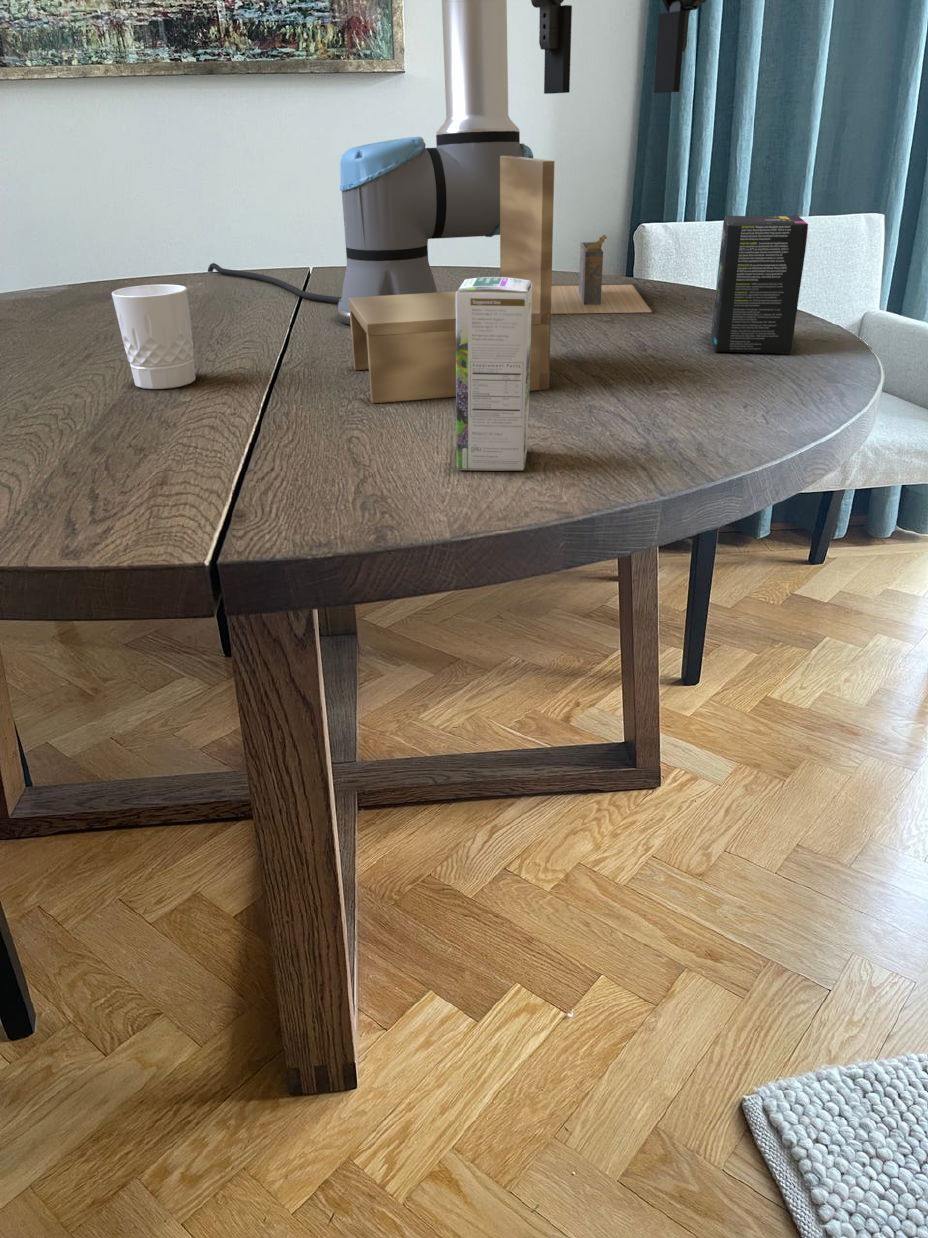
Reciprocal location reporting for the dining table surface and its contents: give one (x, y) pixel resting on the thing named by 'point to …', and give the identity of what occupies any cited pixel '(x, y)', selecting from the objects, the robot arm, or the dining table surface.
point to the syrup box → (493, 372)
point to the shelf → (426, 323)
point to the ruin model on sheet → (595, 289)
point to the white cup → (156, 334)
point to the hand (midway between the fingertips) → (613, 93)
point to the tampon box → (758, 283)
